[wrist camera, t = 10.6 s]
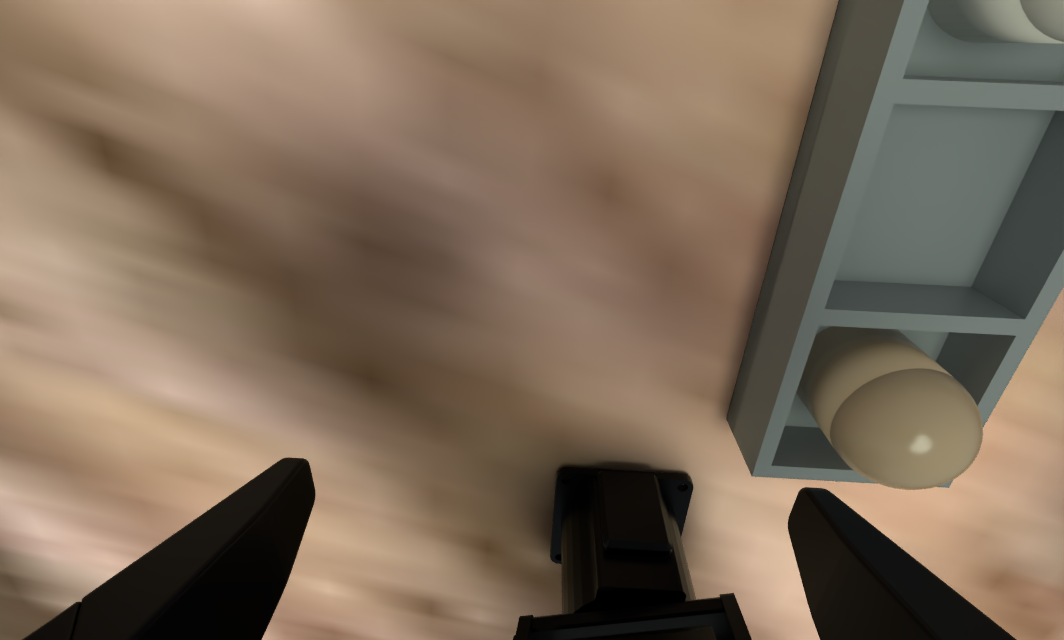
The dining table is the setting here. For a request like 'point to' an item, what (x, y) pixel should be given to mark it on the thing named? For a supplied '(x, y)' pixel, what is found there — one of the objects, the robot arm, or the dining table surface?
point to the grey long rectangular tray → (909, 220)
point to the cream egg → (1001, 20)
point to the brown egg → (890, 408)
